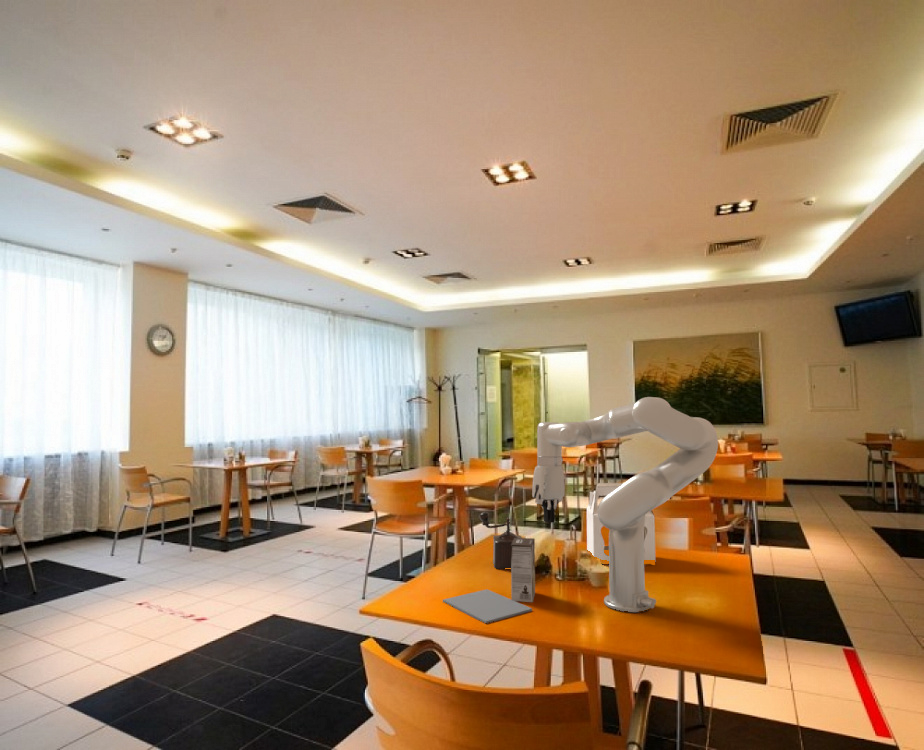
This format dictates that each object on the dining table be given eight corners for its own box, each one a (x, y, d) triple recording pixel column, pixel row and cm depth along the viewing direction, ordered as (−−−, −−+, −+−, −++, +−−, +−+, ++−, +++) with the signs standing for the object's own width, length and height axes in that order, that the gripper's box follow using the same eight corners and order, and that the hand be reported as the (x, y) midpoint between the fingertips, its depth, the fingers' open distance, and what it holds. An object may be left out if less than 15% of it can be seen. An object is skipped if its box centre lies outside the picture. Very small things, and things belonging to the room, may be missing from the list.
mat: (532, 610, 149) (532, 608, 149) (485, 623, 140) (485, 621, 140) (487, 591, 165) (487, 589, 165) (442, 601, 156) (442, 599, 156)
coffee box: (514, 591, 166) (513, 537, 167) (535, 592, 164) (535, 538, 165) (511, 601, 157) (510, 544, 158) (533, 602, 155) (533, 545, 156)
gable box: (593, 564, 195) (591, 485, 197) (586, 555, 208) (585, 480, 210) (656, 565, 194) (654, 485, 196) (645, 555, 207) (644, 481, 209)
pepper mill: (521, 560, 200) (520, 510, 201) (525, 569, 189) (524, 516, 190) (478, 560, 200) (478, 510, 201) (480, 569, 188) (480, 516, 190)
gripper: (557, 460, 177) (557, 517, 176) (523, 462, 168) (522, 522, 167) (575, 462, 171) (575, 521, 170) (540, 464, 162) (539, 527, 161)
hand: (549, 521), depth 169 cm, fingers closed
